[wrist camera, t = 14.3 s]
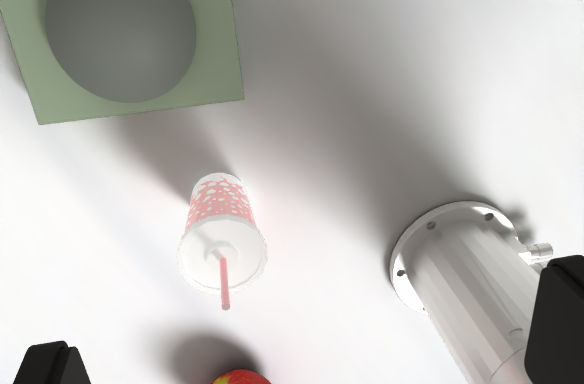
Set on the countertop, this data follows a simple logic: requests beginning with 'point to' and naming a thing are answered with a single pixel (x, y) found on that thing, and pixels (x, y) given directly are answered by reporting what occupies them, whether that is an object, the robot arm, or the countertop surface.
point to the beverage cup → (221, 239)
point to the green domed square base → (123, 55)
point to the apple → (241, 378)
